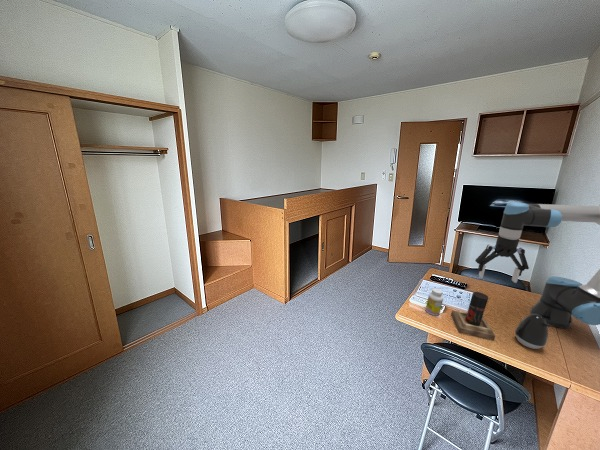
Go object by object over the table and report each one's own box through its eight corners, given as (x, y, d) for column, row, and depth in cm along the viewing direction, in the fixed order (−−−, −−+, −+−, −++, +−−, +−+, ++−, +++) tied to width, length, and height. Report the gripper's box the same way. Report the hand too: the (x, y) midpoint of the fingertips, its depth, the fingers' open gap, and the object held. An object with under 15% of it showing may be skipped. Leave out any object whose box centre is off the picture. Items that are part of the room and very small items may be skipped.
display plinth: (482, 321, 123) (484, 314, 121) (494, 340, 110) (496, 333, 109) (450, 314, 126) (452, 308, 125) (459, 332, 114) (461, 325, 112)
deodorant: (482, 327, 114) (491, 299, 110) (468, 325, 115) (476, 297, 111) (476, 319, 120) (484, 292, 115) (462, 317, 121) (470, 291, 116)
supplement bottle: (423, 307, 131) (427, 286, 128) (435, 308, 131) (440, 287, 127) (428, 315, 125) (433, 293, 121) (441, 316, 125) (447, 294, 121)
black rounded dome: (525, 352, 104) (537, 322, 99) (507, 334, 114) (517, 307, 109) (550, 354, 104) (563, 324, 99) (529, 336, 113) (540, 308, 109)
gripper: (536, 237, 109) (523, 279, 115) (473, 231, 116) (464, 272, 122) (548, 242, 103) (533, 287, 109) (480, 236, 109) (470, 279, 115)
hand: (496, 279), depth 115 cm, fingers open, 13 cm apart
